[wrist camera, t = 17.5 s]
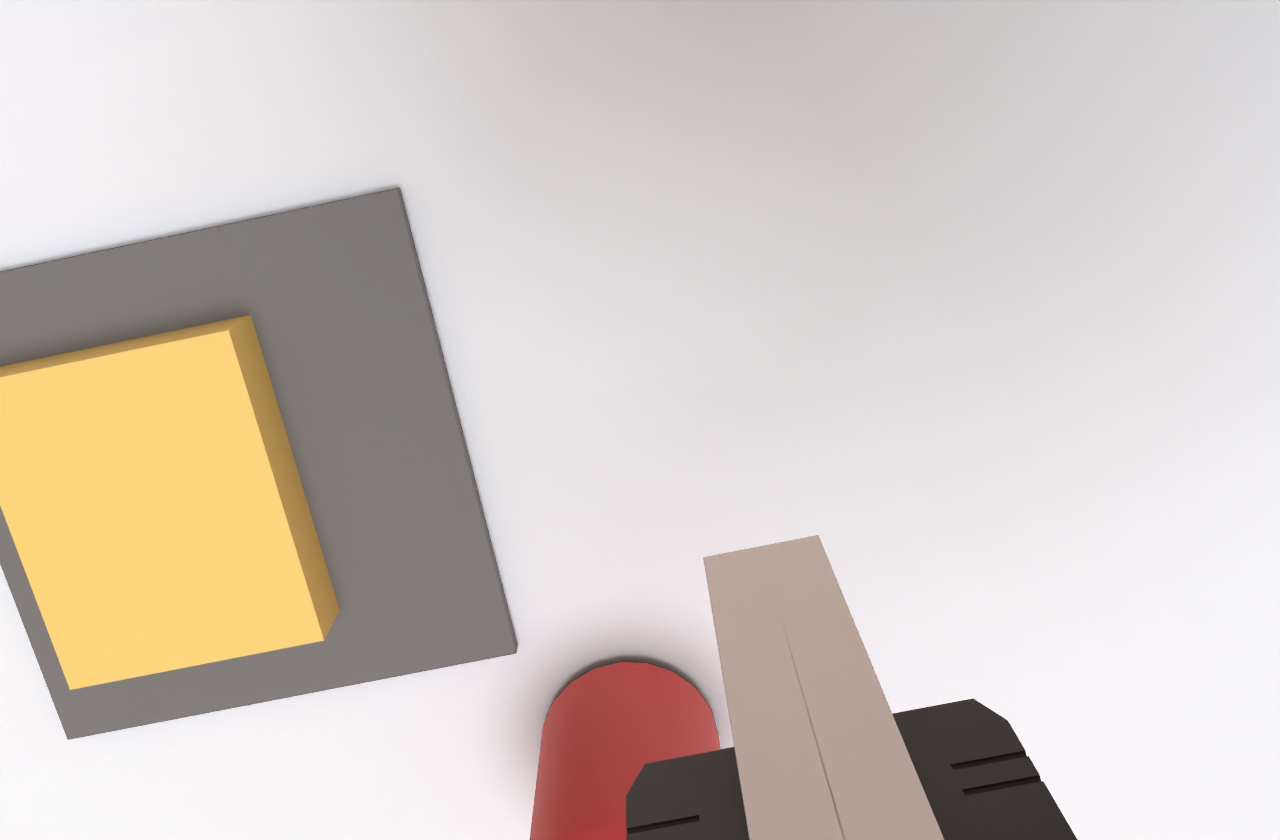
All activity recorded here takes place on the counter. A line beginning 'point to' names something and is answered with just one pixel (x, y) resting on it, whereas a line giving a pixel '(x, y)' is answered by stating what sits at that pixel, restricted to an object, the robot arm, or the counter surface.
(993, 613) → the counter surface
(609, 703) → the beer can
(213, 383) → the slab
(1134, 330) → the counter surface
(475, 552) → the mat
